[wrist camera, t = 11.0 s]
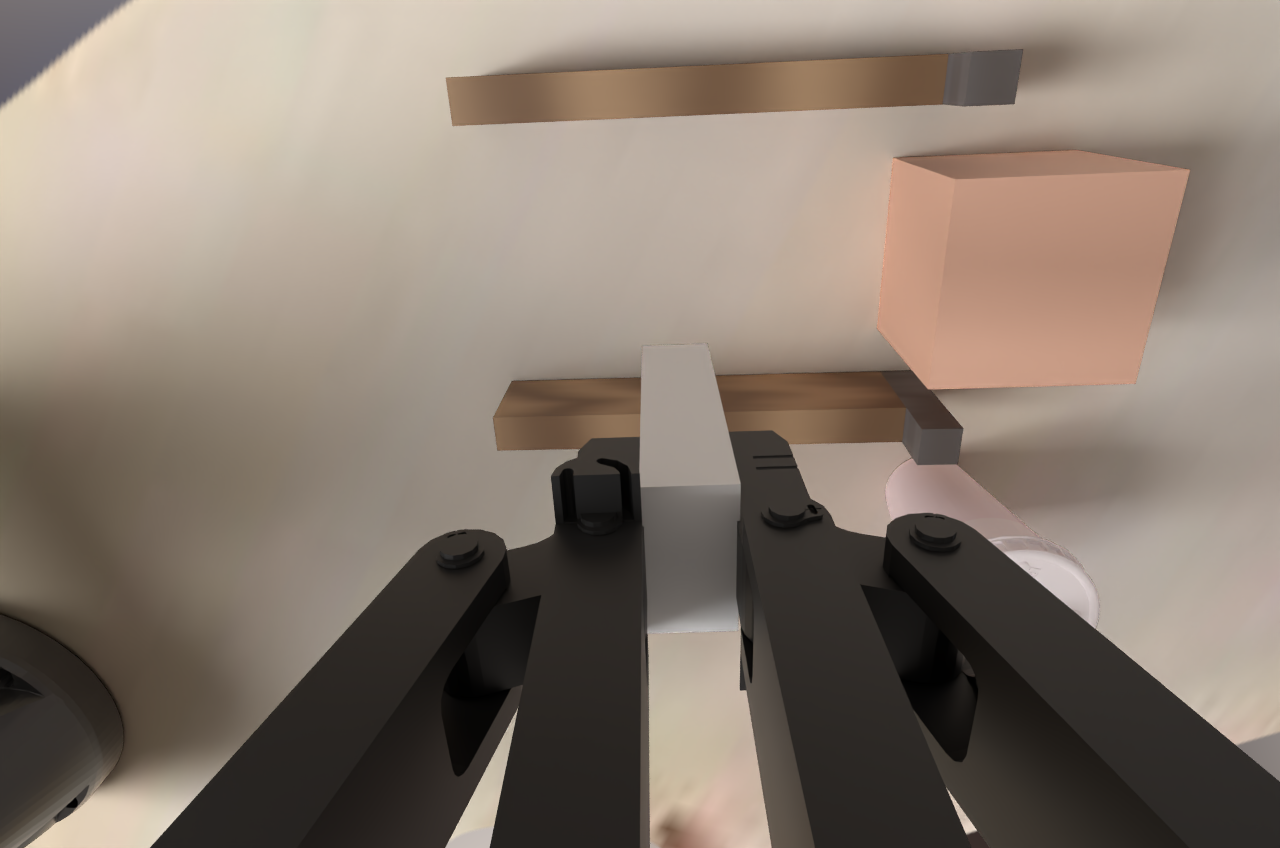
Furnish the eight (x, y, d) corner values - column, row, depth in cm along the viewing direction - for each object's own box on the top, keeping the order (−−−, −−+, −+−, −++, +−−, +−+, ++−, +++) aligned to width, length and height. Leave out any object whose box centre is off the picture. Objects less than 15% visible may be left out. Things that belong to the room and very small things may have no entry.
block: (876, 328, 32) (928, 389, 26) (892, 157, 29) (955, 179, 23) (1041, 322, 32) (1135, 383, 25) (1074, 149, 29) (1190, 169, 22)
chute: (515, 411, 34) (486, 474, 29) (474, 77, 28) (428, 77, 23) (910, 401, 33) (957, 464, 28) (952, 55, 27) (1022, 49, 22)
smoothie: (923, 402, 33) (1079, 600, 21) (1023, 476, 35) (1227, 704, 22) (828, 501, 36) (916, 733, 23) (925, 566, 37) (1059, 819, 24)
